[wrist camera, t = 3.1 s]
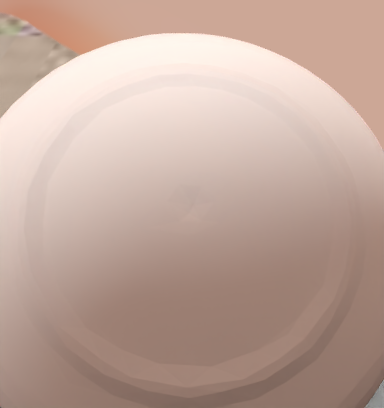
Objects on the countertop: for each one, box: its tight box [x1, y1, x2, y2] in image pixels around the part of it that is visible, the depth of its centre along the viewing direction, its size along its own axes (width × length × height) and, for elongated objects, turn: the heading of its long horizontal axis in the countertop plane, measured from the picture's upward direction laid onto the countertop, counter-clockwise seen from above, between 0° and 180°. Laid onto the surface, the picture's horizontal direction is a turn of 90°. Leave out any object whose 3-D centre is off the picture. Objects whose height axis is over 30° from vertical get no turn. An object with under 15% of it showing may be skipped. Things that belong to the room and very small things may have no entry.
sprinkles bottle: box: [0, 33, 384, 408], centre depth 9 cm, size 5×5×13 cm
